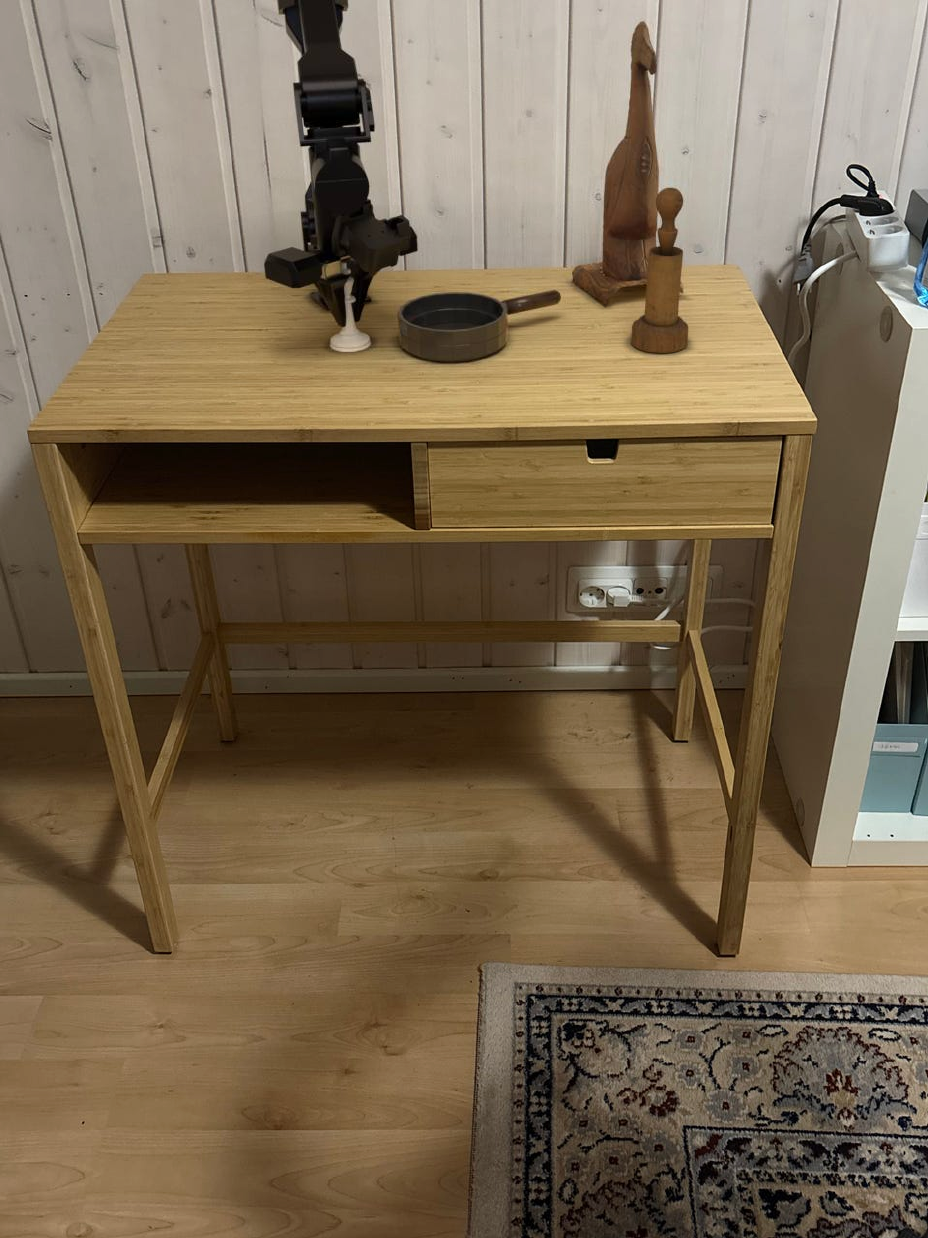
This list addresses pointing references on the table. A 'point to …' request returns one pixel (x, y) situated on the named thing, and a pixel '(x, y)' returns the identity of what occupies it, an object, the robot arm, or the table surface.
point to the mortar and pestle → (663, 285)
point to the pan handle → (530, 302)
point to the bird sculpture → (629, 188)
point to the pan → (452, 326)
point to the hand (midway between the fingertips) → (348, 323)
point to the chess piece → (349, 324)
